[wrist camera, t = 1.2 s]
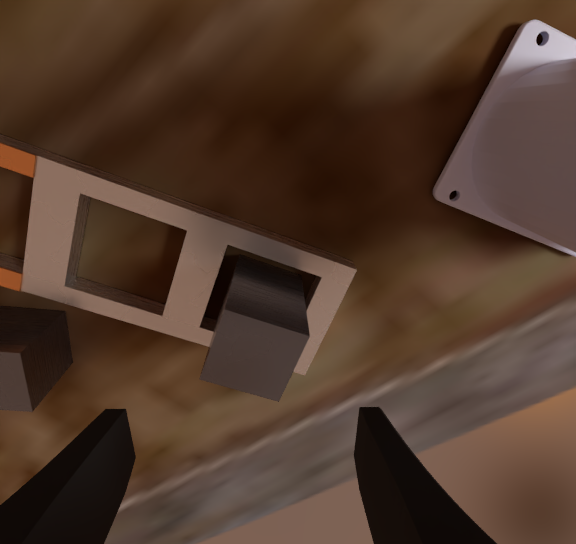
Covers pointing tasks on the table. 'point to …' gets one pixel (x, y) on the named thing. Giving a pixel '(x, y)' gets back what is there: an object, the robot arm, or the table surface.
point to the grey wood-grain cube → (31, 355)
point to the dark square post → (258, 330)
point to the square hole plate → (192, 262)
